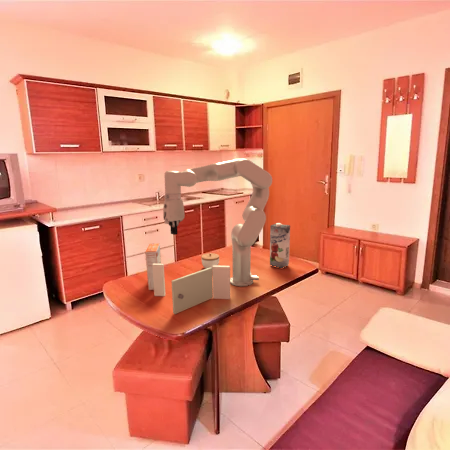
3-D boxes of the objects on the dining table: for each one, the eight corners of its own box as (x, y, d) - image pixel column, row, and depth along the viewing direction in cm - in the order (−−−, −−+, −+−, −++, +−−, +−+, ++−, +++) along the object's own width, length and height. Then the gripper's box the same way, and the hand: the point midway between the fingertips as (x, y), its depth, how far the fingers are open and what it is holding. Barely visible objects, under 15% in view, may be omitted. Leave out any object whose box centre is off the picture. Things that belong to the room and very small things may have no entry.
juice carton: (276, 262, 200) (277, 220, 194) (290, 266, 192) (292, 222, 186) (267, 266, 193) (268, 222, 187) (282, 270, 186) (283, 225, 180)
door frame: (230, 297, 152) (230, 265, 149) (229, 299, 151) (229, 267, 147) (155, 294, 157) (153, 263, 153) (154, 295, 155) (152, 264, 151)
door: (211, 296, 152) (210, 267, 149) (215, 298, 150) (214, 268, 147) (173, 313, 137) (171, 280, 134) (177, 315, 135) (175, 282, 132)
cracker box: (151, 279, 175) (148, 243, 170) (162, 279, 175) (160, 242, 170) (147, 290, 161) (144, 251, 156) (159, 290, 161) (157, 250, 157)
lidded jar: (197, 269, 190) (197, 254, 188) (208, 264, 198) (208, 249, 196) (212, 272, 184) (212, 257, 182) (222, 267, 193) (222, 252, 190)
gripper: (165, 199, 145) (166, 238, 149) (189, 196, 156) (190, 232, 160) (155, 197, 150) (157, 235, 154) (179, 194, 161) (180, 230, 165)
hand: (174, 233), depth 157 cm, fingers closed
